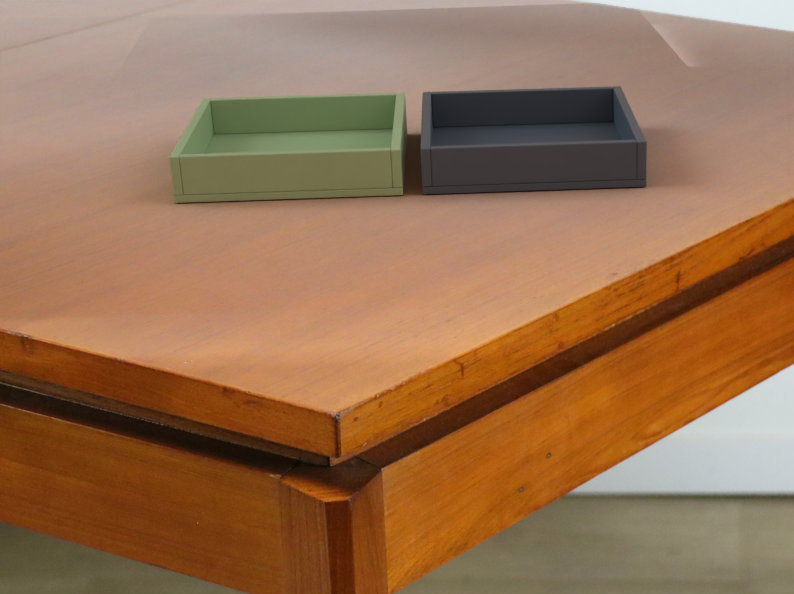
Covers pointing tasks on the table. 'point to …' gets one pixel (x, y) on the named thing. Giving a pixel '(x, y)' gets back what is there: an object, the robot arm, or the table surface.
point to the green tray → (292, 148)
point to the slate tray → (530, 140)
